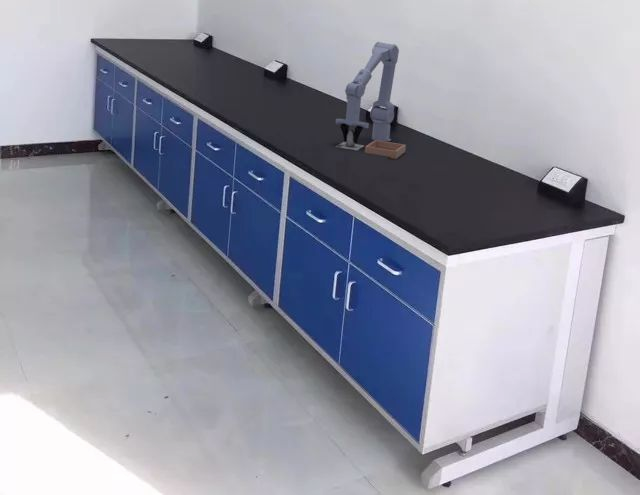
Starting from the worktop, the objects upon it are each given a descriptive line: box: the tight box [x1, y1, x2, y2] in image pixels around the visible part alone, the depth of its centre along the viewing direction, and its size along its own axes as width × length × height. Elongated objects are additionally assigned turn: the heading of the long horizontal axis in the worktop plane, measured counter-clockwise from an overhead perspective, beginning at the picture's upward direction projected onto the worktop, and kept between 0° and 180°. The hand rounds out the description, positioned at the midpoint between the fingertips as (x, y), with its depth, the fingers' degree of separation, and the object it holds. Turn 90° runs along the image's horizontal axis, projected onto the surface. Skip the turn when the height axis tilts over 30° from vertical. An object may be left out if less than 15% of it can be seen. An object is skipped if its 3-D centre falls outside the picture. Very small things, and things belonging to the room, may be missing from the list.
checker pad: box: [335, 141, 365, 151], centre depth 345 cm, size 10×10×1 cm
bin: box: [364, 140, 407, 160], centre depth 340 cm, size 14×14×4 cm
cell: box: [345, 128, 356, 147], centre depth 344 cm, size 4×4×8 cm
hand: (350, 142), depth 345 cm, fingers closed on cell, 4 cm apart
